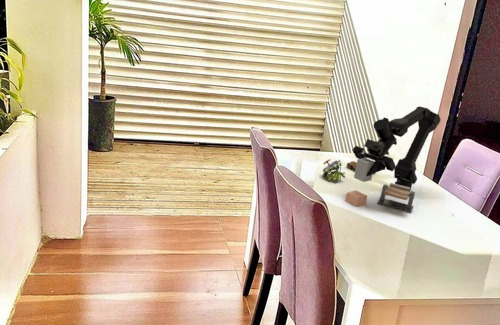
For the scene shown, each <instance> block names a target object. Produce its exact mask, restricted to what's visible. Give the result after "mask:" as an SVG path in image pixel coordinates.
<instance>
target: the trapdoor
mask: <svg viewBox="0 0 500 325" xmlns="http://www.w3.org/2000/svg"><path fill="white" fill-rule="evenodd" d="M410 193H411V191H410V188H409V187H405V186H401V185H397V184H395V183H392V182H390V183H389V185H388V187H387V189H386V190H385V192H384V195H385V196H387V197H388V196H389V197H390V198H391V197H392V198H396V199H399V200H404V201H408V199H409V197H410V196H409V194H410Z"/></svg>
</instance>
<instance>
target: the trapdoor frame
mask: <svg viewBox="0 0 500 325" xmlns="http://www.w3.org/2000/svg"><path fill="white" fill-rule="evenodd" d="M388 186H389V185H388V184H385V183H384V184H383V185H382V189H381V192H380V193H381V194H380V197H379V199H378V200H377V202H376V205H379V206H381V207H385V208H386V207H387V208H391V209H394V210H398V211H400V212H404V213H408V214H412V212H413V209H414V205H413V203H414V198H415V195H416V191H412V190H411V191H410V196H408V200H407V203H403V202H400V201H396V200H391V199H388V198H386V195H384V192H385V190H386V189H387V187H388Z"/></svg>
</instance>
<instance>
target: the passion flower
mask: <svg viewBox="0 0 500 325" xmlns="http://www.w3.org/2000/svg"><path fill="white" fill-rule="evenodd" d="M330 161H331V158H330V159H328V160H326V161H324V162H323V165H326V164H327V166H325V167H324V168H322V172H323V173H322V174H321V175H322V176H323V177H326V176H327V175H328V177H327V178H328V179H327V180H328V182H329V183H331V180H332V182H335V181H339V180H342V178H344V179H346V176H345V174H346V172H345V171H343V172H341V170H342V162H341V159H338V160H335V161H331V163H329V162H330Z"/></svg>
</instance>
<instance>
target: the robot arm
mask: <svg viewBox="0 0 500 325" xmlns="http://www.w3.org/2000/svg"><path fill="white" fill-rule="evenodd" d="M416 123H417V124H418V130H417V132H416V133H415V136H414V138H413V140H412V142H411V144H410V146H409V148H408V151H407V152H406V155H405V156H404V158H400V159H398V161H397V163H395V161H394V159H393V158H392V157H389V156H388V155H389V150H390V149H391V148H392V146H393V145H395V146H397V144H398V141H397V138H396V137H401V138H402V137H403V136H405V135H406V133H408V131H409V130H408V129H409V128H410V127H412V126H413V125H415V124H416ZM440 123H441V117H440V114H438V113H435V112H434V111H432V110H431V109H430V108H428V107H425V106H420V105H419V106H417V107H416V108H415V109H414V110H412V111H411V112H408V113H407V114H406V115H404V116H403V117H401V118H393V119H391V120H390V121H389V118H387V117H383V118H382V119H378V120H376V121H375V122H374V123H373V128H374V131H375V133H376V136H377V137H378V140H377V141H375V140H372V139H369V138H367V139H366V141H365V143H364V147H362V146H358V145H355V146H354V147H353V148H352V149H351V151H352V152H353V154H354V156H355V157H356V159H357V160H358V159H362V158H366V159H369V160H372V161H374V162H375V163H374V165H373V166H372V167H371V169H370V170H369V171H368V173H367V174H366V175H367V176H370V175H372V176H373V175H375V174H376V173H378V172H381V171H386V170H387V171H390V172H393V171H394V172H393V174H394V175H393V177H394V179H396V181H395V182H394V184H397V185H401V186H405V187H409V188H410V192H411V191H412V190H411V189H412V186H413V185H416V184H415V183H417V181H418V177H417V174H416V171H417V163H416V162H417V159H418V157H419V156H420V153H421V151H422V149H423V148H424V145H425V143H426V141H427V138H428V137H429V134H430V133H432V132H434V130H436V128H437V127H438V126H439V124H440ZM364 148H367V149H366V150H367V152H366V150H365V149H364ZM386 155H387V156H386ZM374 173H375V174H374ZM408 197H410V194H409V196H408Z"/></svg>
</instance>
